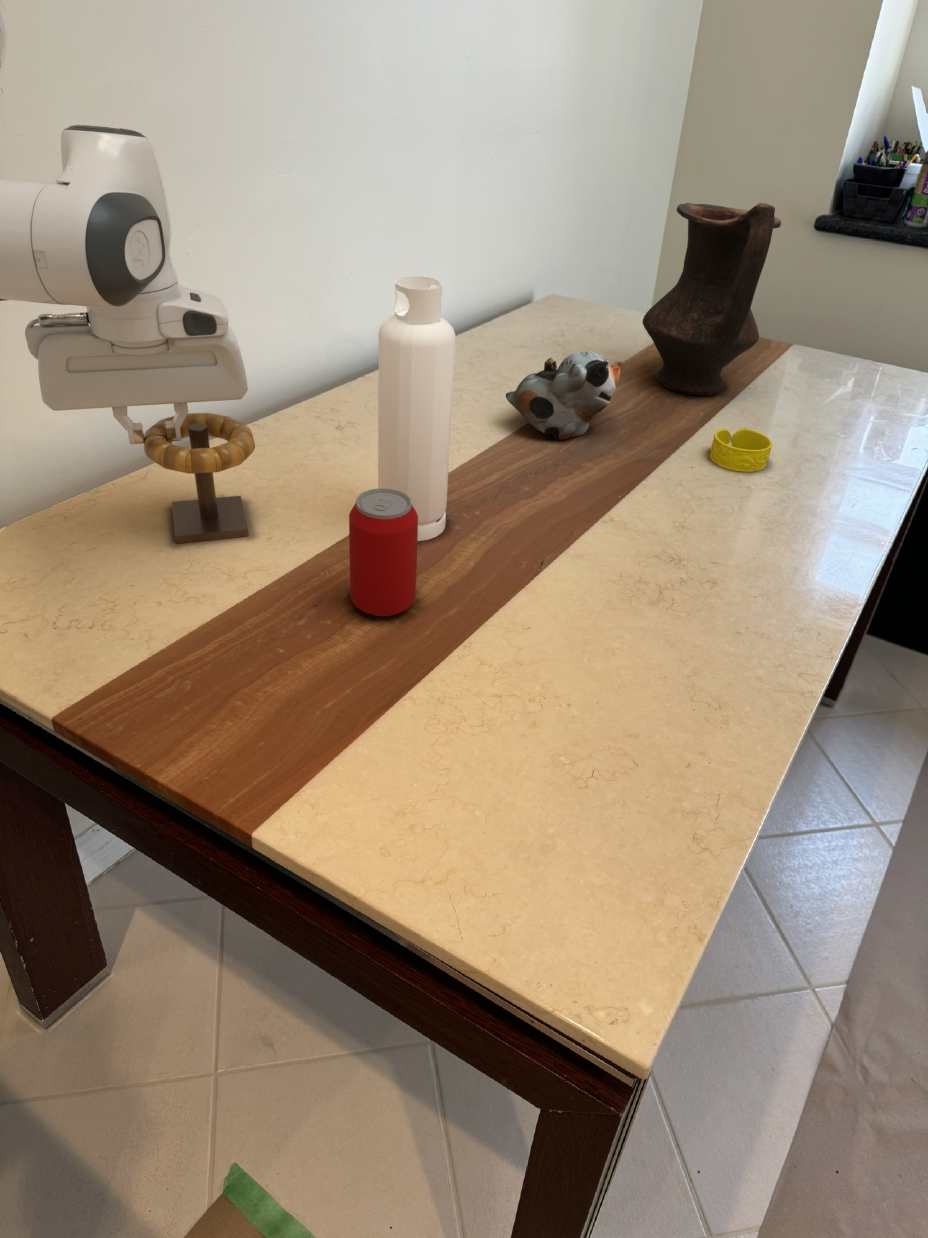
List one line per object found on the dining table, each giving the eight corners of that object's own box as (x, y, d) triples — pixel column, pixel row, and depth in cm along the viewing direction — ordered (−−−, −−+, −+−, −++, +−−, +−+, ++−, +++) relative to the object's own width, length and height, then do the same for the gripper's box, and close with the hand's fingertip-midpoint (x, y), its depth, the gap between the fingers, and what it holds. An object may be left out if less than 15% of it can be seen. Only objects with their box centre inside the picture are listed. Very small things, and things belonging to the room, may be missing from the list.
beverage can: (424, 593, 93) (429, 493, 86) (400, 628, 88) (402, 525, 81) (366, 578, 95) (366, 479, 87) (339, 612, 89) (336, 509, 82)
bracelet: (776, 470, 122) (782, 449, 120) (724, 473, 120) (730, 452, 118) (750, 447, 128) (756, 426, 126) (701, 450, 126) (706, 428, 124)
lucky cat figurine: (539, 397, 138) (594, 323, 130) (590, 448, 135) (649, 376, 127) (489, 396, 126) (546, 315, 118) (544, 453, 123) (606, 373, 115)
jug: (615, 365, 152) (648, 174, 134) (711, 362, 156) (755, 177, 138) (666, 415, 135) (710, 206, 118) (772, 410, 140) (830, 207, 122)
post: (176, 543, 98) (160, 445, 91) (172, 508, 104) (157, 414, 97) (248, 536, 100) (239, 439, 93) (241, 502, 106) (231, 409, 99)
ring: (146, 480, 90) (143, 457, 89) (144, 432, 99) (141, 410, 98) (260, 474, 94) (259, 452, 92) (248, 428, 103) (247, 407, 101)
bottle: (457, 532, 103) (473, 289, 87) (397, 547, 100) (401, 298, 83) (424, 501, 109) (434, 268, 92) (366, 515, 105) (364, 275, 89)
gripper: (17, 325, 81) (50, 461, 89) (243, 317, 86) (254, 445, 95) (23, 304, 86) (54, 435, 94) (236, 297, 91) (248, 421, 99)
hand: (156, 440), depth 94 cm, fingers closed on ring, 2 cm apart
